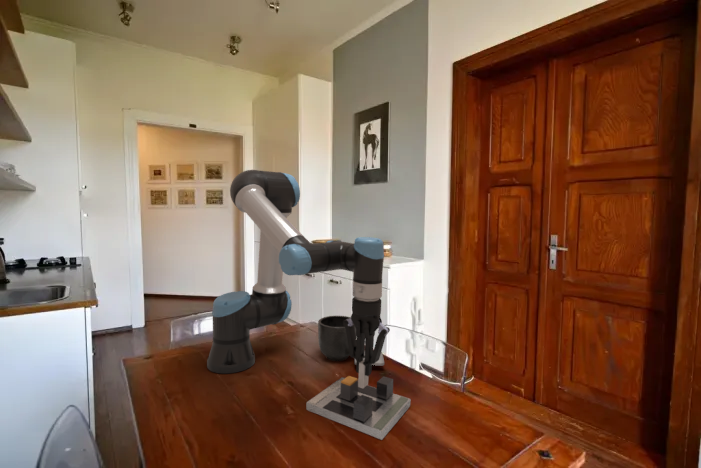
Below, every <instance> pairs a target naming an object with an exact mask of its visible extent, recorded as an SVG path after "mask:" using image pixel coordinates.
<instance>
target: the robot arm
mask: <svg viewBox="0 0 701 468" xmlns="http://www.w3.org/2000/svg"><path fill="white" fill-rule="evenodd" d="M229 195H230V198H231V201H232V203H233V205H234V206H235V207H236V209H238V210H239V211H240V212H242V213H245V214H246V215H247V216H248V217H249V219H251V220H252V222H253V223H254V224H255V225H256V227H257V228H258V229H259V230H260V231H259V233H260V234H259V248H258V249H259V252H258V267H257V281H256V283H255V284H254V285H252V291H251V294H250V293H249V292H248V291H243V290H239V291H230V292H226V293H222V294H221V295H218V297H216V298H215V299H214V301H213V303H212V312H211V315H212V344H211V348H210V351H209V355H208V357H207V359H206V360H207V361H206V367H207V370H209V371H210V372H212V373H215V374H216V373H217V374H235V373H238V372H239V373H240V372H242V371H245V370H248V369H250V368H251V367H252V366H254V364H255V363H256V362H255V361H256V355H255V352H254V348H253V345H252V343H251V342H252V341H251V340H250V338H251V337H250V333H251V332H250V331H251V330H254V329H258V328H261V327H262V328H263V327H267V326H270V325H276V324H279V323H282V322H284V321H286V319H288V317H289V316H290V314H291V311H292V307H293V306H292V305H293V304H292V303H293V302H292V299H291V295H290V293H289V292H288V291H287V289H286V286H285V285H284V284H283V275H284V274H286V275H287V276H304V275H310V274H315V273H323V272H331V271H339V270H340V271H341V270H342V271H348V272H352V276H353V277H352V296H353V297H352V299H351V311H352V312H351V315H350V317H351V318H348V319H346V320H344V321H343V325H344V327H345V329H346V334H347V340H348V346H349V352H350V358H353V359H354V360H355V359H356V366H355V368H356V369H355V371H356V373H357V374H358V387H360V388H364V387H366V386H367V385H368V386H369V377H370V375H371V374H372V367H373V366H372V364H374V363H376V362H377V361H378V360H379V358H380V354H381V352H382V351H383V346H384V344H385V339H386V336H387V335H388V334H389V332H390V327H388V326H387V327H386V326H385V325H384V324H383V323H382V322H383V321H382V318H381V314H382V299H381V298H382V296H383V269H384V258H385V254H384V253H385V250H384V247H385V246H384V241H383V240H382V239H381V238H379V237H370V236H369V237H368V236H359V237H356V238H355V239H354V242H353V243H352V242H346V241H342V240H333V239H332V240H327V241H326V242H316V243H314V242H313V243H312V242H310V241H309V240H308V238H306V237H305V236H304V235H303V234H302V233H301V232H300V231H299V230H298V229H297V228H296V227H295V225H293V223H292V222H291V221H290V220H289V219H288V217H289V216H290V215H291V214H292V209H293V208H294V207H296V206H298V204H299V202H300V200H301V199H300V198H301V191H300V185H299V183H298V180H296V178H295V177H294V175H292V174H289V173H285V172H281V171H280V172H279V171H277V172H276V171H270V170H269V171H267V170H258V169H246V170H244V171H241V172H240V173H238V174H237V175H236V176H234V178H233V180H232V181H231V183H230V187H229ZM354 326H355V328H356V334H355V328H354ZM377 330H378V331H377ZM376 331H377V333H378V334H377V337H376V341H375V339H374V338H375V335H376ZM356 336H357V338H356ZM374 342H375V344H374ZM364 352H365V356H364ZM363 358H365V359H364V360H363Z"/></svg>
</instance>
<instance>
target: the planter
mask: <svg viewBox="0 0 701 468" xmlns="http://www.w3.org/2000/svg"><path fill="white" fill-rule="evenodd" d="M348 318H351V316H346V315H329V316H324V317H321V318H320V319H318V320H317V334H318V335H317V336H318V346H319V350H320V352H321V353H322V355H323V356H325V358H326V359H327V360H330V361H332V362H342V361H346V360H347V359H348V358H349V356H350V352H349V346H348V340H347V334H346V329H345V327H344V325H343V321H344V320H346V319H348ZM354 328H355V326H354ZM355 334H356V328H355ZM356 339H357V336H356Z"/></svg>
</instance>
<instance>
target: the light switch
mask: <svg viewBox="0 0 701 468" xmlns="http://www.w3.org/2000/svg"><path fill="white" fill-rule="evenodd" d="M364 356H365V352H364ZM364 359H365V358H363V360H364ZM354 365H356V359H355V358H354ZM372 365H373V366H372V367H376V366H382V367H383V366H384V365H385V360H384V354H383V352H382V351H381V354H380V358H379V360H378V361H377V362H376V363H374V364H372ZM374 365H375V366H374Z"/></svg>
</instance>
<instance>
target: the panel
mask: <svg viewBox="0 0 701 468" xmlns="http://www.w3.org/2000/svg"><path fill="white" fill-rule="evenodd" d="M345 378H346V377H343V376H341V378H340V377H339V379H337V380H335V382H333V383H332V384H331V385H329V386H327V387H326V388H325V389H323V390H322V391H320V392H319V393H317V394H316V395H315V396H313V397H312V398H310V399H309V400H308V401H306V402H305V403H306V405H305V406H306V409H305V410H306V411H308V412H311V413H314V414H315V415H316V414H317V415H319V416H321V417H323V418H326V419H328V420H330V421H333V422H336V423H338V424H340V425H344V426H346V427H347V428H348V427H349V428H351V429H353V430H355V431H359V432H361V433H363V434H366V435H368V436H371V437H374V438H375V439H378V440H381V441H382V440H384V438H386V436H387V435H388V433H389V432H391V430H392V429H393V427H394V426H395V425H396V424H397V423H398V421H399V420H400V419H401V418H402V417H403V416H404V414H405V413H406V412H407V411H408V410H409V409H410V407H411V400H412V399H411V398H409V397H406V396H403V395H399V394H397V393H396V394H395V393H394V378H390V377H387V376H382V377H381V378H380V379H379V380H377V381H376V387H375V386H371V385H369V384H368V385H367V386H366V387H364V388H360V387H358V395H356V396H355V397H354V398H353V399H352V400H350V401H349V400H346V399H343V398H340V392H341V381H342V380H344V379H345Z"/></svg>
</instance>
